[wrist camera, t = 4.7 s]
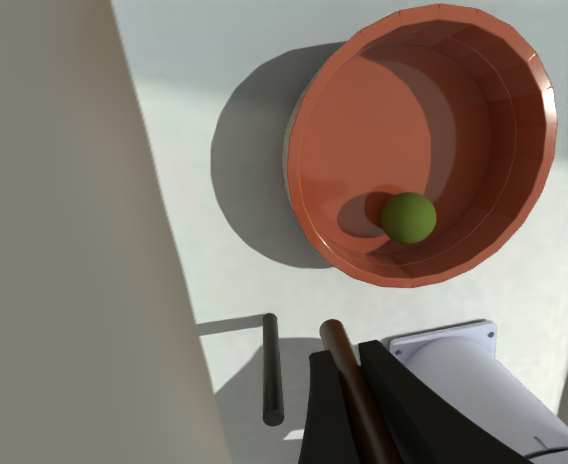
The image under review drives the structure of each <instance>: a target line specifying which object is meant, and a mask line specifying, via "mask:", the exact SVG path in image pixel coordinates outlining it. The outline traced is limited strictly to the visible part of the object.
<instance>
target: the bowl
mask: <svg viewBox="0 0 568 464" xmlns="http://www.w3.org/2000/svg"><path fill="white" fill-rule="evenodd" d="M557 126H558V123H557V114H556V107H555V100H554V93H553V87H552V84H551V82H550V80H549V78H548V75H547V73H546V71H545V69H544V67H543V65H542V62H541V60H540V58H539V56H538V54H537V53H536V51H535V50H534V49H533V48H532V47H531V46H530V45H529V44H528V43H527V42H526V41H525V39H524V38H523V37H522V36H521V35H520V34H519V33H518V32H517V31H516V30H515V29H514V28H513V27H511V25H509V24H507V23H505V22H503V21H501V20H499V19H497V18H496V17H494V16H492V15H490V14H488V13H486V12H484V11H482V10H480V9H477V8H470V7H463V6H456V5H448V4H441V3H440V4H431V5H426V6H420V7H415V8H410V9H404V10H399V11H398V12H394V13H392V14H390V15H388V16H386V17H384V18H382V19H381V20H379V21H377V22H375V23H373V24H371V25H369V26H367V27H365V28H363V29H361V30H360V31H358V32H357V33H356V34H355V35H354V36H353V37H351V38H350V39H349V40H348V41H347V42H346V43H345V44H344V45H343V46H342V47H340V48H339V49H338V50H337V51H336V52H335V53H334V54H333V55H332V56H331V57H329V58H328V59H327V61H326V62H325V63H324V64H323V65H322V67H321V68H320V69H319V70H318V71H317V73H316V74H315V75H314V76H313V78H312V79H311V81H310V82H309V84H308V85H307V87H306V88H305V90H304V91H303V93H302V94H301V96H300V97H299V99H298V101H297V102H296V105H295V106H294V109H293V112H292V114H291V117H290V119H289V122H288V126H287V129H286V132H285V136H284V145H283V157H282V170H283V176H284V182H285V187H286V192H287V197H288V199H289V201H290V204H291V206H292V209H293V211H294V213H295V215H296V217H297V220H298V222H299V224H300V226H301V228H302V230H303V232H304V234H305V236H306V238H307V240H308V241H309V242H310V243H311V244H312V245H313V246H314V248H315V249H316V250H317V251H318V252H319V253H320V254H321V256H322V257H323V258H324V259H325V260H326V261H327V262H328V263H330V264H331V265H333V266H334V267H336V268H337V269H339V270H341V271H342V272H344V273H345V274H347V275H348V276H350V277H352V278H354V279H357V280H360V281H363V282H367V283H370V284H373V285H376V286H380V287H395V288H415V287H420V286H425V285H431V284H436V283H441V282H444V281H446V280H449V279H451V278H453V277H456V276H458V275H460V274H462V273H465V272H467V271H469V270H471V269H473V268H475V267H476V266H477V265H479V264H480V263H482V262H483V261H484V260H486V259H487V258H489V257H490V256H491V255H493V254H494V253H496V252H497V251H498V250H499V249H500V248H501V247H502V246H503V245H504V244H505V243H506V242H507V241H508V240H509V239H510V238H511V237H512V235H513V234H514V233H515V232H516V231H517V230H518V229H519V228H520V227H521V226H522V224H523V223H524V222H525V220H526V218H527V217H528V215H529V213H530V212H531V210H532V209H533V207H534V205H535V204H536V202H537V200H538V199H539V197H540V195H541V194H540V193H542V191H543V189H544V186H545V183H546V180H547V177H548V174H549V171H550V168H551V166H552V163H553V159H554V154H555V144H556V135H557ZM404 192H414V193H418V194H420V195H423V196H424V197H426V198H427V199H428V200H429V201H430V202H431V203H432V205H433V206H434V208H435V212H436V224H435V227H434V229H433V231H432V232H431V233H430V234H429V236H427V237H426V238H425V239H423V240H422V241H420V242H417V243H412V244H403V243H399V242H396V241H394V240H392V239H391V238H390V237H388V236H387V235H386V233H385V232H384V230H383V228H382V226H381V221H380V215H381V211H382V208H383V206H384V205H385V203H386V202H387V201H388V200H389V199H390V198H392V197H393V196H395V195H397V194H400V193H404Z"/></svg>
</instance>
